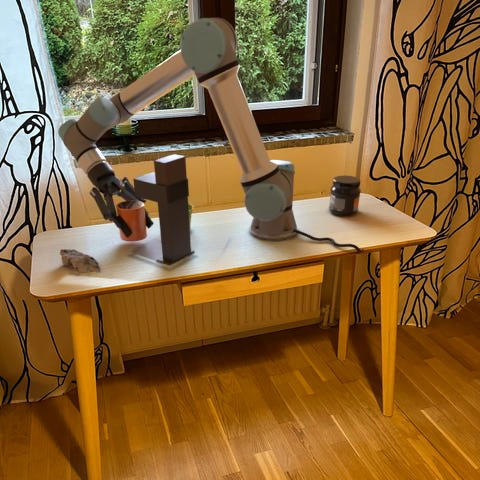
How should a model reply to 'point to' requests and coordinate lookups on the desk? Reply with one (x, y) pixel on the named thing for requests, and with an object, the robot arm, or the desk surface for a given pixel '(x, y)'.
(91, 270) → the mineral rock
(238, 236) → the desk surface
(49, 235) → the desk surface
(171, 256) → the coffee maker
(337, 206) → the supplement container
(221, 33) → the robot arm
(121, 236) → the cup
